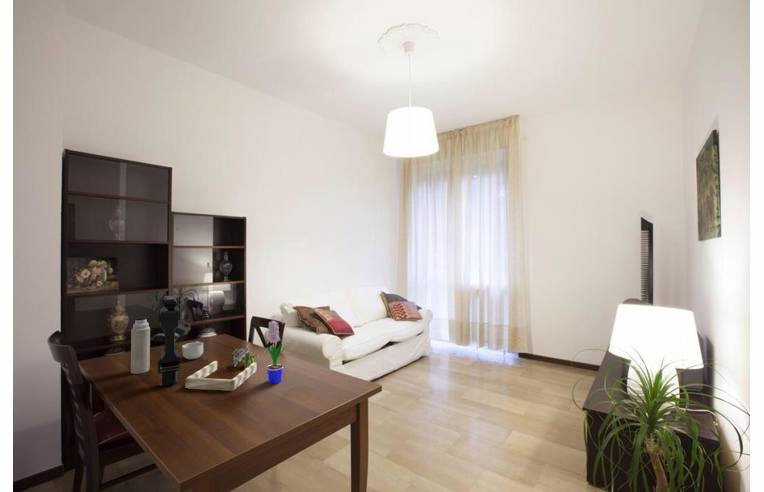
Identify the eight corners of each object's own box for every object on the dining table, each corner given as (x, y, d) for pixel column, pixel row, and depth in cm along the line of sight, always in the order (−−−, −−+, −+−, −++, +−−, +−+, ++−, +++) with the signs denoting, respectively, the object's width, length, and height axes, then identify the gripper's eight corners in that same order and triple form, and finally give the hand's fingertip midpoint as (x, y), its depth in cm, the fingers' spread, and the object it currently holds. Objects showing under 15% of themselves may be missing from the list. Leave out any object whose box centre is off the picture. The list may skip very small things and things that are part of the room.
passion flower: (235, 377, 186) (227, 355, 190) (257, 368, 194) (248, 347, 198) (240, 371, 177) (231, 347, 181) (262, 361, 185) (253, 339, 189)
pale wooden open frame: (233, 390, 156) (233, 380, 156) (185, 388, 157) (185, 378, 157) (256, 370, 180) (256, 362, 180) (214, 369, 182) (214, 360, 182)
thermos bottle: (139, 367, 182) (140, 315, 182) (153, 368, 181) (154, 316, 181) (126, 373, 174) (127, 318, 174) (141, 374, 173) (142, 319, 173)
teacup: (196, 361, 193) (196, 347, 193) (177, 360, 194) (178, 346, 194) (209, 353, 207) (209, 340, 207) (192, 353, 208) (192, 339, 208)
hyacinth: (281, 386, 162) (282, 323, 161) (261, 384, 164) (262, 321, 163) (289, 379, 170) (290, 319, 170) (271, 377, 172) (272, 318, 172)
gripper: (174, 324, 164) (173, 357, 164) (197, 316, 183) (197, 345, 183) (152, 324, 165) (151, 356, 165) (177, 316, 184) (177, 344, 184)
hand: (171, 350), depth 174 cm, fingers closed
